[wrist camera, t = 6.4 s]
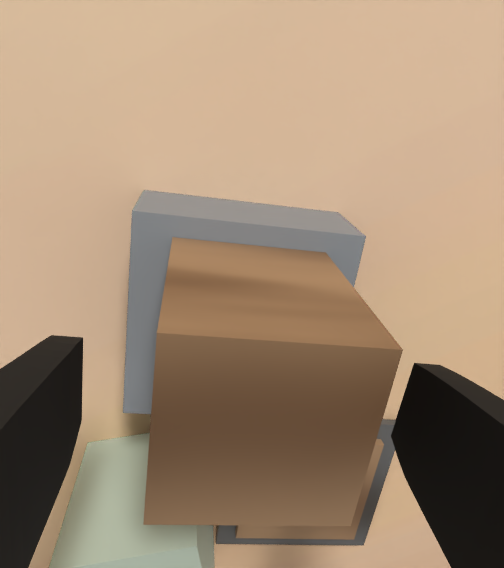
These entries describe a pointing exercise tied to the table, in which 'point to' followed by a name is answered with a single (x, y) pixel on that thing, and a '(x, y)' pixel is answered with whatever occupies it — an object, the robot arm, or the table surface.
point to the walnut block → (263, 389)
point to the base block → (221, 228)
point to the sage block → (123, 516)
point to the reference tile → (326, 533)
